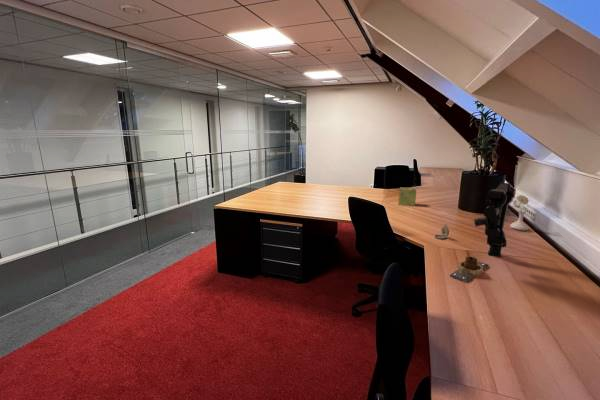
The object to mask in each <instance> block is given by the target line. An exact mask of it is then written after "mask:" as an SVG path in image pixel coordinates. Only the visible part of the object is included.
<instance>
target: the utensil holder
mask: <svg viewBox="0 0 600 400" xmlns="http://www.w3.org/2000/svg"><path fill="white" fill-rule="evenodd" d="M465 253H466V255H467V256H466V257H465V260H464V261H465V262H464V268H467V269H470V270H477V261H478V259H477V257H476V256H478V253H476V250H474V251H473V255H474V256H471V255H470V250H468V249H466V252H465ZM475 255H476V256H475Z"/></svg>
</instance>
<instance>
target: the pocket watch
mask: <svg viewBox="0 0 600 400" xmlns="http://www.w3.org/2000/svg"><path fill="white" fill-rule="evenodd" d="M447 226H448V223H444V226H442V227H441V230H440V231H441V234H435V235H434V238H435V239H438V240H445V239H446V237H448V236H449V234H450V230H449V228H448V227H447Z"/></svg>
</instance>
